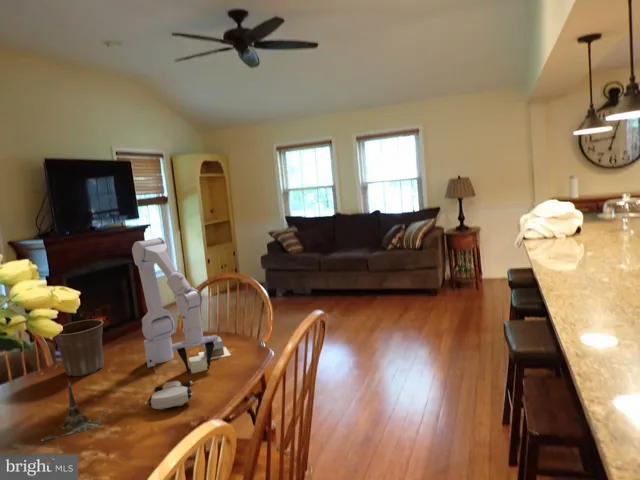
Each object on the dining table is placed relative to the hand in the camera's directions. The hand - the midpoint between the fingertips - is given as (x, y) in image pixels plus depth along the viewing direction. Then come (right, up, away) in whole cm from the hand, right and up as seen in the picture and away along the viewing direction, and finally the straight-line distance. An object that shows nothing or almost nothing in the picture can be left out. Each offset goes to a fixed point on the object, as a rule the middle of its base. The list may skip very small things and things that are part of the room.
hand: (198, 367), depth 153 cm
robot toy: (-2, -5, -20) cm, 21 cm away
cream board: (+2, 0, +13) cm, 13 cm away
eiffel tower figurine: (-25, -8, -29) cm, 39 cm away
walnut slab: (+2, +1, +13) cm, 13 cm away
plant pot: (-43, -5, +12) cm, 45 cm away
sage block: (0, -2, 0) cm, 2 cm away
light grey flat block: (+2, +4, +12) cm, 13 cm away
